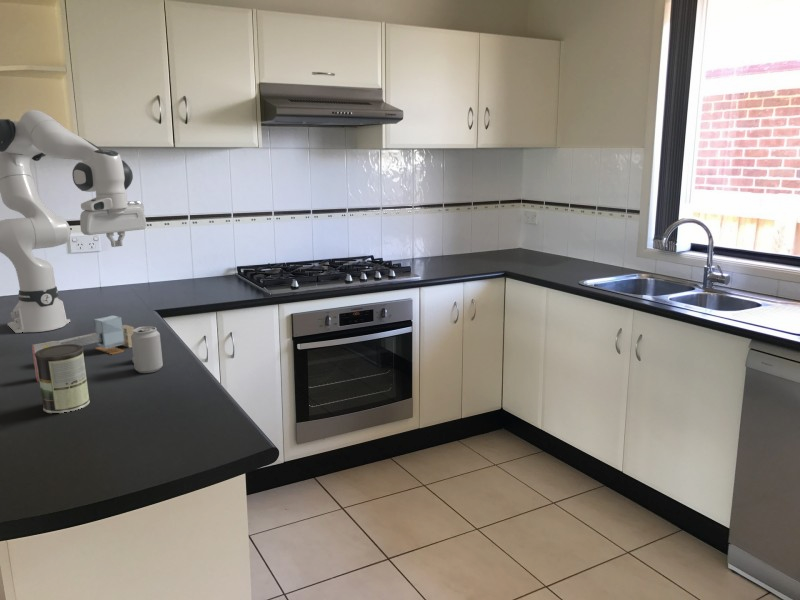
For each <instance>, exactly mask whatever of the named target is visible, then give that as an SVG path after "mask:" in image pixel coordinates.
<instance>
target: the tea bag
mask: <svg viewBox="0 0 800 600" xmlns="http://www.w3.org/2000/svg"><path fill="white" fill-rule="evenodd" d="M53 341H54V342H50V341H46V342H47V343H46V342H42V343H35V344H31V349H32V350H31V351H32V357H33V358H32V359H33V364H34V365H33V366H34V372H35V373H34V374H35V378H36V382H37V383H40V381H39V374H38V367H37V361H36V357H35V353H36V352H37V351H39V350H41V349H44V348H47V347H51V346H56V345H60V340H53Z"/></svg>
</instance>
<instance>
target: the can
mask: <svg viewBox="0 0 800 600" xmlns="http://www.w3.org/2000/svg"><path fill="white" fill-rule="evenodd" d="M139 327H140V328H138V327H135V328H134V330H133V332H134V333H133V334H132V335H131V341H132V347H131V348H132V349H131V351H132V359H134V363H133V366H134V370H135V371H136V372H138V373H140V374H149V373H150V374H151V373H155V372H158V371H160V370H161V368H162V367H163V365H164V363H163V354H162V343H161V334H160V332H159V331H158V330H157V327H156V326H139Z"/></svg>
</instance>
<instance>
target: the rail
mask: <svg viewBox="0 0 800 600" xmlns="http://www.w3.org/2000/svg"><path fill="white" fill-rule="evenodd" d="M122 329H123V337H124V345H121V346H122V347H126V348H132V341H131V335H132V334H133V333H134V332H133V330H134V329H135V327H134V326H131V325H128V324H122ZM54 341H55V340H51V341H49V342H54ZM59 341H60V345H64V344H76V345H81V346H87V345H91V344H94V343H96V344H97V342H100V341H103V336H102V334H101V333H98V332H96V333H95V332H92V333H88V334H84V335H79V336H73V337H69V338H65V339H61V340H59ZM47 342H48V341H46V342H45V343H47ZM95 350H98V351H100V352H103V353H106V354H108V353H109V354H108V355H111V354H112V355H116V354H120V353H123V352H125V350H124V349H123V348H122V349H121V348H118V347H117V346H115V347H111V348H107V349H105V348H102V347H99V346H97V347H95Z"/></svg>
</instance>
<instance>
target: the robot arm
mask: <svg viewBox="0 0 800 600" xmlns="http://www.w3.org/2000/svg"><path fill="white" fill-rule="evenodd" d="M46 156H48V157H50V158H53V159H60V160H61V159H62V160H76V161H80V162H77V163H76V164H75V166H74V167H73V169H72V180H73V184H74V185H75V186H76V188H78V189H79V190H80V191H82V192H86V193H88V192H90V193H92V192H94V193H95V197H93V198H92V199H88V200H86V201H84V202H81V203H80V208H81V210H83V211H81V213H80V217H79V220H80V221H79V224H80V225H79V226H80V232H81V233H82V234H83V235H84V236H95V235H105V236H106V238H107V239H108V240H109V242H110V246H111V248H117V247H123V240H124V238H125V236H126V232H131V231H132V232H133V231H139V230H140V231H141V230H146V228H147V225H148V224H147V219H146V216H145V207H144V204H143V203H142V202H140V201H139V200H136V201H128V199H127V197H128V196H127V191H126V190H128V188H129V187H130V185H131V184H132V182H133V179H134V175H133V171H132V169H131V167H130V166H129V164H128V163H127V162H126V161H124V160H123V159H122V157H121V155H120V153H119V152H117V151H115V150H111V149H109V150H108V149H101V148H100V147H99V146H97V145H95V144H94V143H92V141H90V140H87V139H85V138H83V137H82V136H80V135H78V134H76V133H74V132H72V131H71V130H69V129H67V128H66V127H64V126H63V125H62V124H61V123H59V122H58V121H57V120H56V119H54V118H53V117H51V116H50V115H49V114H47V113H46V112H43V111H41V110H37V109H32V110H31V109H30V110H27V111H26V112H24V113H23V114H22V115H21V117H20V119H19V120H18V121H16V120H11V119H9V118H5V119H4V118H2V119H1V118H0V198H1V201H2V203H3V204H4V205H5V207H6V208H8V209H9V210H12V211H15V212H18V213H19V214H21V215H23V217H21V218H20V217H17V218H8V219H6V218H5V219H2V220H0V253H1V254H2V255H3V256H5V257H7V258H8V259H9V261H10V262H11V263H12V265H13V267H14V269H15V273H16V276H17V280H18V286H19V289H18V295H17V296H18V300H19V301H18V303H17V304H16V305H15V306H14V308H13V311H11V312H9V316H10V319H11V320H13V321H10V322H7V327H8V326H9V327H10V328H11V329H12V330H13V331H14V332H15V334H19V333H20V334H23V333H39V332H49V331H53V330H57V329H60V328H63V327H65V326H66V325H67V324H70V323H71V319H70V318H67V316H66V315H67V314H66V311H65V306H64V302H63V300H61V299H60V298H58V297H59V294H58V293H59V291H58V287H57V286H56V281H55V274H54V273H55V272H54V268H53V266H52V264H51V263H50V262H49V261H46V260H44V259H42V258H38V257H35V256H34V254H33V250H38V249H39V250H40V249H48V248H55V247H58V246H62V245H65V244H67V243H68V242H69V239H70V238H71V231H72V230H71V227H70V224H69V223H68V221H67V220H66V219H65V218H63V217H62V216H59V215H57V214H56V213H55V212H52V211H51V210H50V208H48V207H47V206H46V205H45V203H44V202H43V201H42V200H41V197H40V195H39V192H38V190H37V186H36V182H35V180H34V177H33V173H32V171H31V165H30V163H31V161H32V160H33V161H36V162H38V161H40V160H41V159H42V158H44V157H46ZM114 233H117V234H116V235H118V237H117V240H115V239H114V236H115V234H114ZM69 322H70V323H69ZM9 327H8V328H9ZM10 328H9V329H10ZM11 329H10V330H11ZM12 330H11V331H12ZM13 331H12V332H13ZM14 332H13V333H14ZM22 332H23V333H22Z"/></svg>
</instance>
